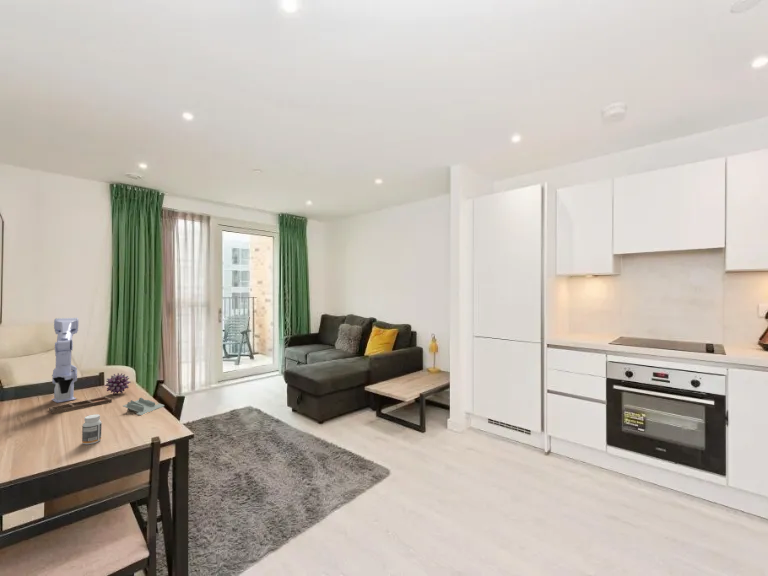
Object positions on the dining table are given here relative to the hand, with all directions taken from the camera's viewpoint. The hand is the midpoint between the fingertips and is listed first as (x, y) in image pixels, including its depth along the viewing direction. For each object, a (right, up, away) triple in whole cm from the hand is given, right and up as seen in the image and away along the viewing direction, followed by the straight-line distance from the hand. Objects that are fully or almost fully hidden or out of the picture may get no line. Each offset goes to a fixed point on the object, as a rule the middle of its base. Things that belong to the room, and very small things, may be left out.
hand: (62, 392), depth 174 cm
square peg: (0, -3, 0) cm, 3 cm away
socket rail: (+4, -9, +6) cm, 11 cm away
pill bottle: (+45, -9, -37) cm, 59 cm away
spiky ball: (+6, -9, +28) cm, 30 cm away
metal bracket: (+39, -10, +1) cm, 40 cm away
